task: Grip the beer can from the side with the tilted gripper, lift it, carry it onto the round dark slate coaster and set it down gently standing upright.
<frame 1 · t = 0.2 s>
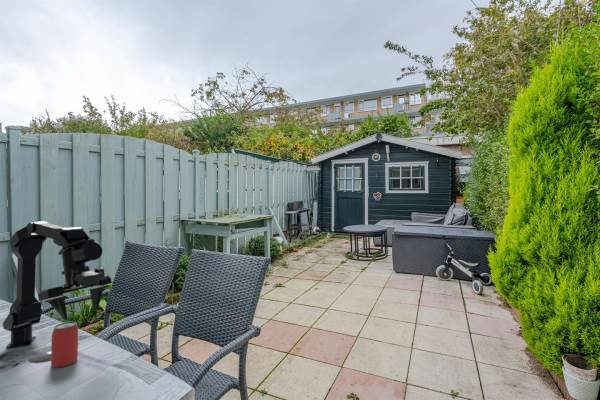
hand: (81, 314, 94), 16 cm above the table, tool tilted 15°, fingers open, 9 cm apart
slate coaster: (48, 354, 99), on the table
beer can: (64, 363, 94), on the table
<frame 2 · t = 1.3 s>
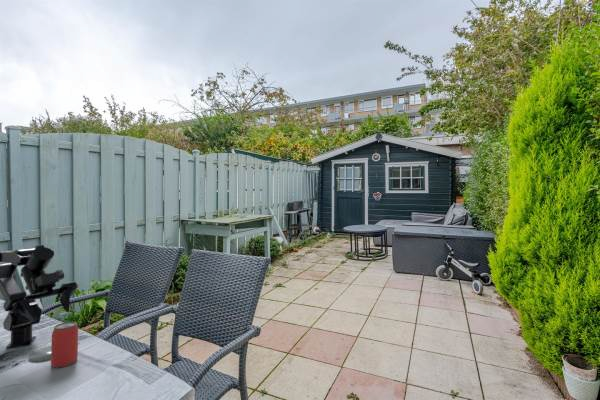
hand: (52, 316, 97), 13 cm above the table, tool tilted 45°, fingers open, 9 cm apart
nothing on the table moved.
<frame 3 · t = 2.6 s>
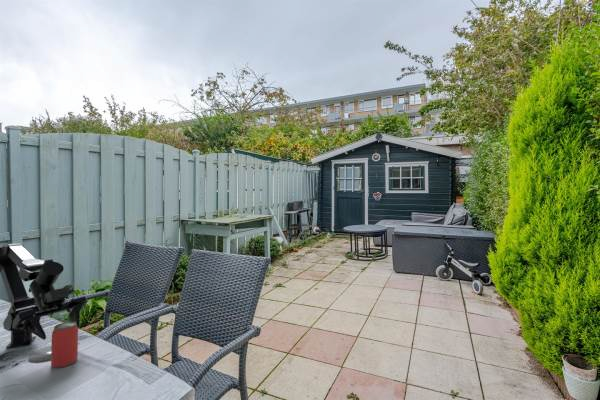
hand: (62, 332, 95), 9 cm above the table, tool tilted 45°, fingers open, 9 cm apart
nothing on the table moved.
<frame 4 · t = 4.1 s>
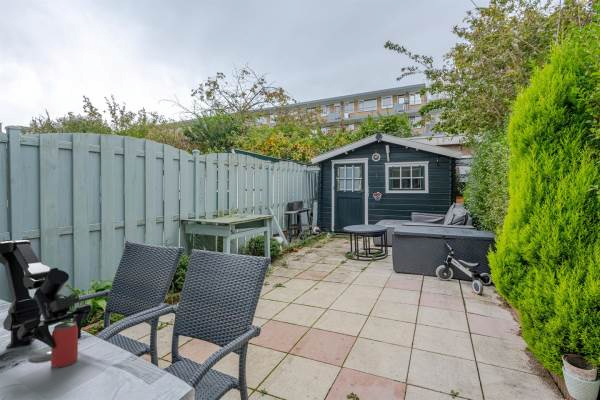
hand: (67, 342, 93), 7 cm above the table, tool tilted 45°, fingers closed on beer can, 7 cm apart
beer can: (64, 363, 94), on the table, touching gripper
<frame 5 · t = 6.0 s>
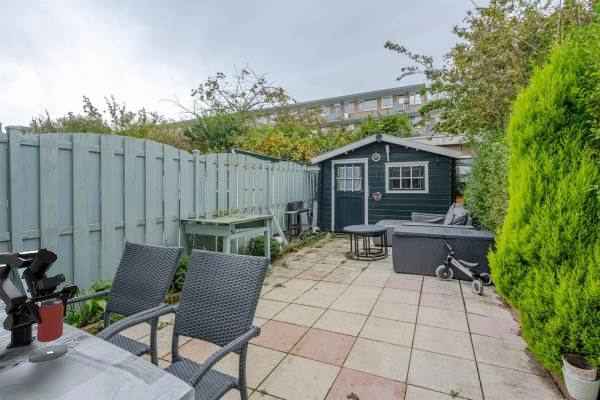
hand: (53, 319, 98), 12 cm above the table, tool tilted 45°, fingers closed on beer can, 7 cm apart
beer can: (50, 339, 99), point 5 cm above the table, touching gripper
when the fingers open (9 cm above the table, at t = 7.9 s): beer can drops 1 cm, resting on slate coaster.
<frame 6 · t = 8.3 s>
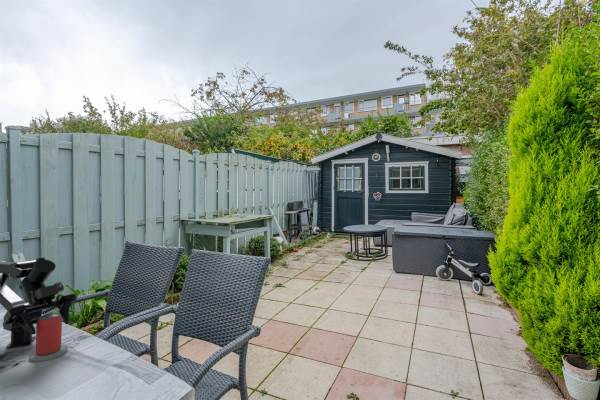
hand: (51, 328, 99), 9 cm above the table, tool tilted 45°, fingers open, 9 cm apart
beer can: (48, 352, 99), point 1 cm above the table, touching slate coaster
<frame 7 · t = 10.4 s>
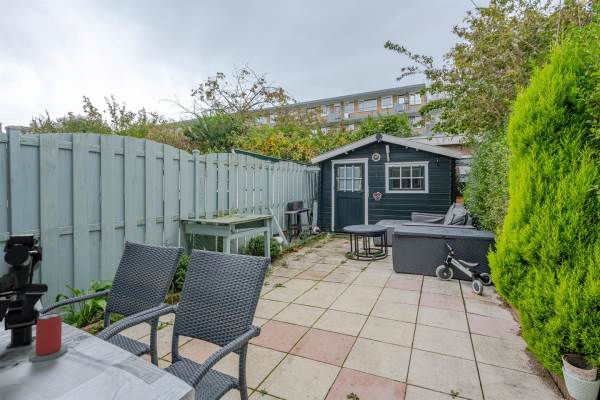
hand: (11, 320, 95), 13 cm above the table, tool tilted 20°, fingers open, 9 cm apart
nothing on the table moved.
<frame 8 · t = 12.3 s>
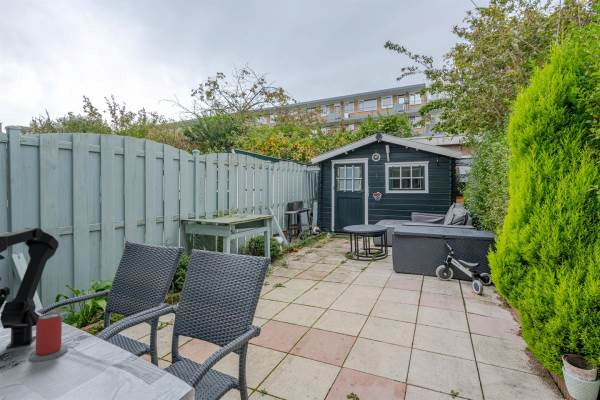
nothing on the table moved.
at the end: beer can 0.2 cm off-centre on the slate coaster, point 0.6 cm above the slate coaster's base; beer can tilted 0°; the gripper is holding nothing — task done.
